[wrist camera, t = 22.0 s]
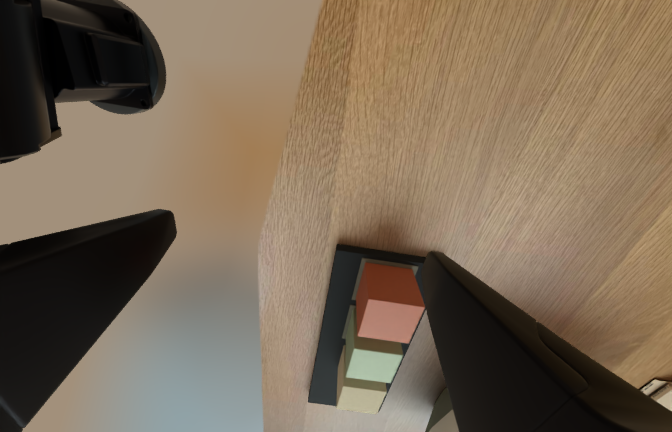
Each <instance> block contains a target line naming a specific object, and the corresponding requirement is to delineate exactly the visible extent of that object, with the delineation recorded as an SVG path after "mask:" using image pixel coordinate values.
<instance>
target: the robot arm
mask: <svg viewBox="0 0 672 432" xmlns="http://www.w3.org/2000/svg"><path fill="white" fill-rule="evenodd" d="M129 15H130V17H131V22H129V19H128V16H129ZM144 100H145V101H146V102H147V105H146V104H145V103H144ZM77 101H96V102H102V103H108V104H114V105H120V106H126V107H132V108H138V109H144V110H148V109H152V108H153V106H154V103H153V98H152V92H151V86H150V77H149V72H148V66H147V60H146V54H145V49H144V46H143V41H142V35H141V29H140V24H139V19H138V17H137V15H136V14H135V13H134V12H132V11H130V10H127V9H122V8H116V7H111V6H105V5H99V4H94V3H88V2H83V1H77V0H0V164H2V163H7V162H11V161H14V160H16V159H19V158H20V157H23V156H27V155H30V154H34V153H36V152H38V151H40V150H41V148H40V147H42V146H43V145H45V144H47V143H49V142H51V141H53V140H55V139H57V138H59V137H60V136H61V135H62V134H61V128H60V127H59V126H58V122H57V114H56V107H55V103H61V102H77ZM176 234H177V231H176V224H175V220H174V214H173V213H172V212H171V211H169V210H162V209H157V210H153V211H148V212H143V213H139V214H135V215H130V216H126V217H122V218H118V219H113V220H109V221H104V222H100V223H96V224H91V225H87V226H82V227H79V228H74V229H70V230H65V231H61V232H56V233H52V234H48V235H43V236H39V237H35V238H30V239H26V240H22V241H17V242H13V243H11V244H4V245H0V432H22V430H23V429H22V428H25V427H26V425H27V424H28V423H29V422H30V421H31V419H32V418H33V417H34V416H35V415H36V413H37V412H38V411H39V410H40V409H41V407H42V406H43V405H44V404H45V402H46V401H47V400H48V399H49V398H50V396H51V395H52V394H53V393H54V392H55V390H56V389H57V388H58V387H59V386H60V384H61V383H62V382H63V381H64V379H65V378H66V377H67V376H68V375H69V373H70V372H71V371H72V370H73V369H74V367H75V366H76V365H77V364H78V362H79V361H80V360H81V359H82V357H83V356H84V355H85V354H86V353H87V352H88V350H89V349H90V348H91V347H92V346H93V344H94V343H95V342H96V341H97V339H98V338H99V337H100V336H101V334H102V333H103V332H104V331H105V330H106V328H107V327H108V326H109V325H110V324H111V322H112V321H113V320H114V319H115V318H116V316H117V315H118V314H119V313H120V312H121V310H122V309H123V308H124V307H125V306H126V304H127V303H128V302H129V301H130V300H131V298H132V297H133V296H134V295H135V293H136V292H137V291H138V290H139V289H140V287H141V286H142V285H143V284H144V282H145V281H146V280H147V279H148V277H149V276H150V275H151V274H152V272H153V271H154V269H155V268H156V266H157V265H158V264H159V262H160V261H161V259H162V258H163V256H164V255H165V253H166V251H167V250H168V248H169V247H170V245H171V244H172V242H173V241H174V239H175V238H176ZM421 278H422V285H423V291H424V298H425V305H426V310H427V315H428V319H429V323H430V327H431V331H432V334H433V338H434V342H435V345H436V349H437V353H438V356H439V360H440V364H441V367H442V371H443V375H444V379H445V382H446V386H447V390H448V393H449V397H450V401H451V404H452V408H453V412H454V415H455V419H456V423H457V426H458V430H459V432H672V411H671V410H669V409H667V408H666V407H664V406H663V405H661V404H660V403H658V402H657V401H655V400H654V399H652V398H650V397H649V396H647V395H646V394H644V393H643V392H641V391H640V390H638V389H637V388H635V387H634V386H632V385H631V384H629V383H628V382H626V381H625V380H623V379H622V378H620V377H618V376H617V375H615V374H614V373H612V372H611V371H609V370H608V369H606V368H605V367H603V366H602V365H600V364H599V363H597V362H596V361H594V360H593V359H591V358H590V357H588V356H587V355H585V354H584V353H582V352H581V351H579V350H578V349H576V348H575V347H573V346H572V345H570V344H569V343H568V342H566V341H565V340H563V339H562V338H560V337H559V336H558V335H556V334H555V333H553V332H552V331H550V330H549V329H548V328H546V327H545V326H544V325H542V324H541V323H539V322H536V320H535V319H534V318H532V317H531V316H530V315H528V314H527V313H525V312H524V311H523V310H521V309H520V308H518V307H517V306H516V305H514V304H513V303H511V302H510V301H509V300H507V299H506V298H504V297H503V296H502V295H500V294H499V293H498V292H496V291H495V290H493V289H492V288H491V287H489V286H488V285H486V284H485V283H484V282H482V281H481V280H479V279H478V278H477V277H475V276H474V275H472V274H471V273H470V272H468V271H467V270H465V269H464V268H463V267H461V266H460V265H459V264H457V263H456V262H454V261H453V260H452V259H450V258H449V257H447V256H446V255H445V254H443V253H441V252H436V251H430V252H429V253H428V255H427V257H426V259H425V262H424V264H423V267H422V270H421Z"/></svg>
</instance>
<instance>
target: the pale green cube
mask: <svg viewBox="0 0 672 432" xmlns="http://www.w3.org/2000/svg"><path fill="white" fill-rule="evenodd" d="M402 357H403V351H402V346H401V342H395V341H388V340H380V339H373V338H366V337H359V336H357V310H356V309H353V311H352V315H351V319H350V322H349V326H348V330H347V334H346V370H345V376H346V377H348V378H356V379H363V380H371V381H378V382H385V383H391V381H392V379H393V377H394V375H395V373H396V370H397V368H398V366H399V364H400V362H401V359H402Z"/></svg>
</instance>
